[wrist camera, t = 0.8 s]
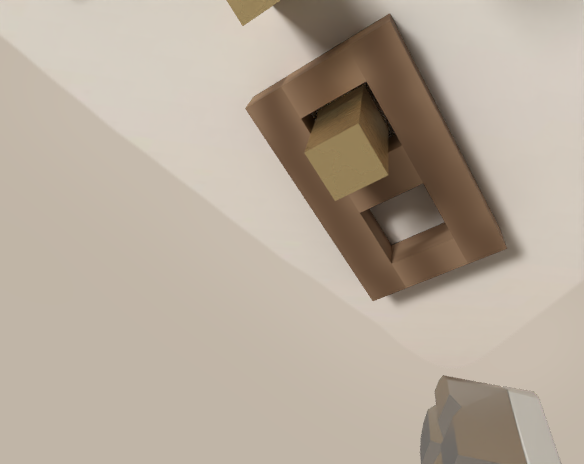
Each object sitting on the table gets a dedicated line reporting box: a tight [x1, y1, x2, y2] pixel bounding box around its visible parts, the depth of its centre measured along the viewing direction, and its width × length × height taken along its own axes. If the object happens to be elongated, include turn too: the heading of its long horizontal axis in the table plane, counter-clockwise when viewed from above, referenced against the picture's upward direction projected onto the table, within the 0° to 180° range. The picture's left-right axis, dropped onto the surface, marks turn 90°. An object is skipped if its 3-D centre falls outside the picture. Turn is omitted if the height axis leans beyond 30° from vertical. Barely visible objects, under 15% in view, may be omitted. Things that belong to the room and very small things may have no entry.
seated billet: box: [304, 84, 388, 201], centre depth 39 cm, size 4×4×9 cm
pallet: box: [245, 14, 507, 301], centre depth 43 cm, size 12×20×3 cm, turn 33°
